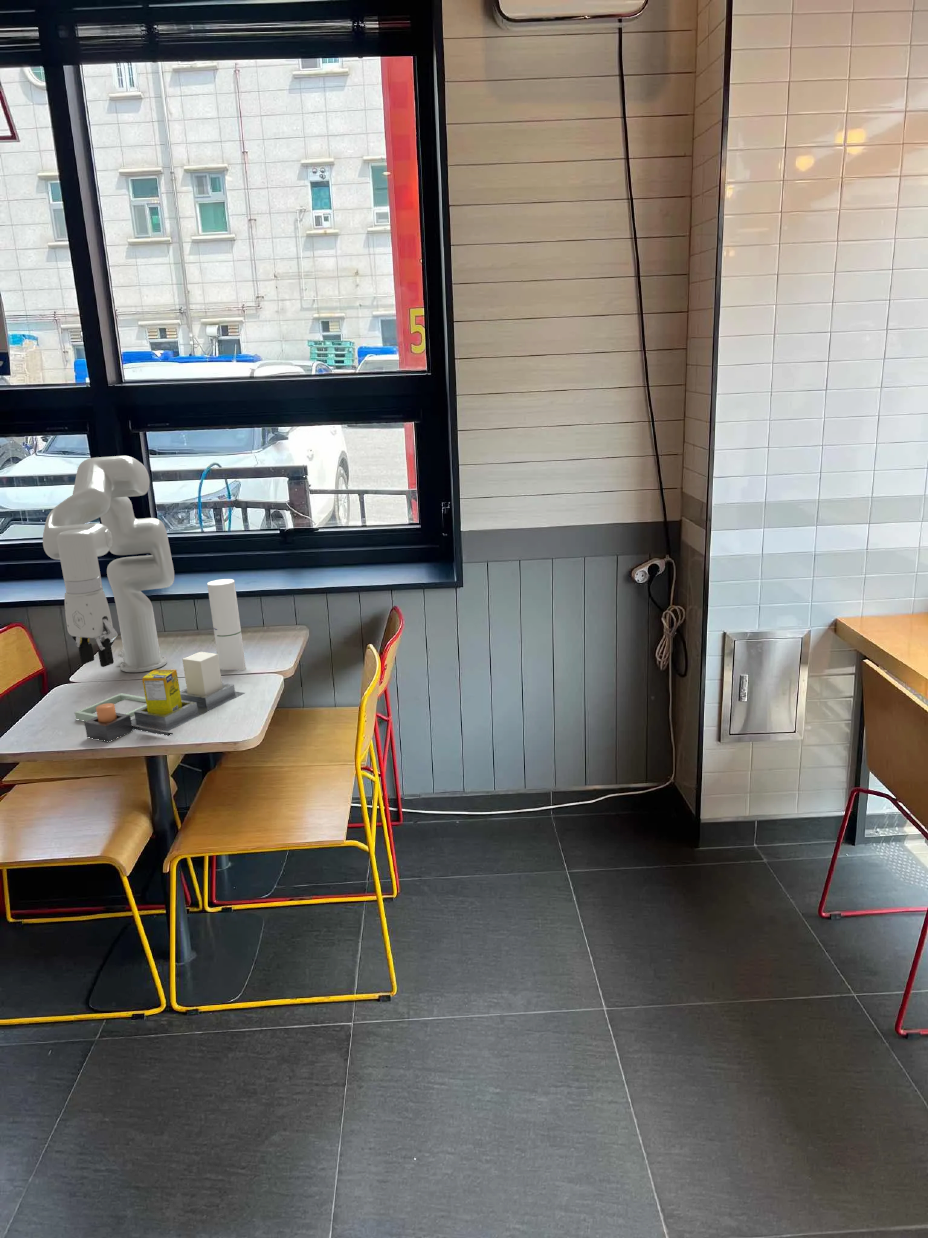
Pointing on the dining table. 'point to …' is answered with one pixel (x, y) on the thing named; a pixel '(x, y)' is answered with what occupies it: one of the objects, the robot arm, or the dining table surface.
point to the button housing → (108, 728)
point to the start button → (106, 713)
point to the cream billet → (202, 673)
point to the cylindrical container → (226, 624)
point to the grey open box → (183, 710)
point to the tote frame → (88, 712)
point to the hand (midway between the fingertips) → (97, 662)
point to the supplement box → (162, 691)
